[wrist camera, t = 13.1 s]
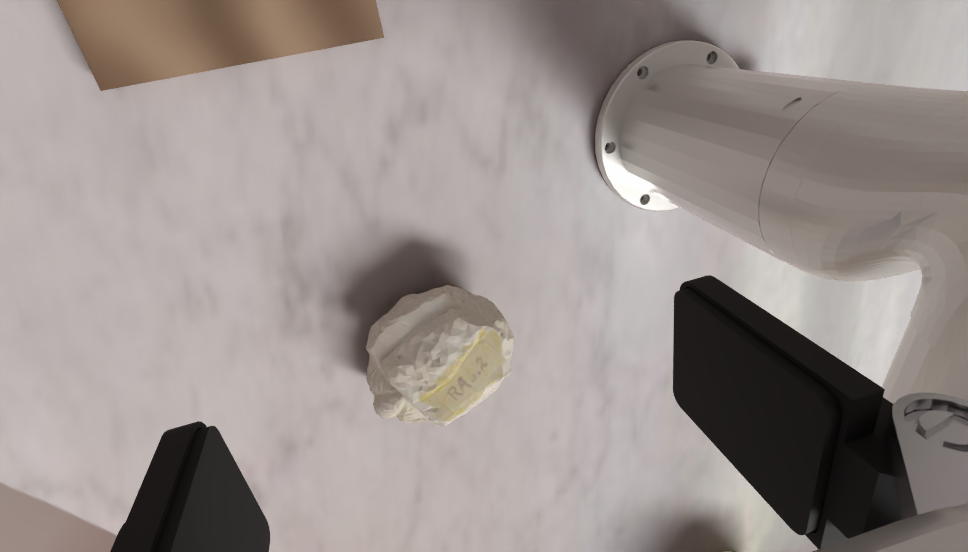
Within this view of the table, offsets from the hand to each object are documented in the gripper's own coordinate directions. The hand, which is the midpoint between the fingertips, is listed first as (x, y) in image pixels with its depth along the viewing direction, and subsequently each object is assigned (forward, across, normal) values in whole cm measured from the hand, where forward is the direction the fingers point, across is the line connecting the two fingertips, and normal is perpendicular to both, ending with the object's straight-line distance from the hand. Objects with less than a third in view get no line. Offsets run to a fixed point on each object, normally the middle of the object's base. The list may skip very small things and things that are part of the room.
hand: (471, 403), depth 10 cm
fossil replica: (+29, 0, +16) cm, 33 cm away
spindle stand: (+28, +6, -13) cm, 32 cm away
